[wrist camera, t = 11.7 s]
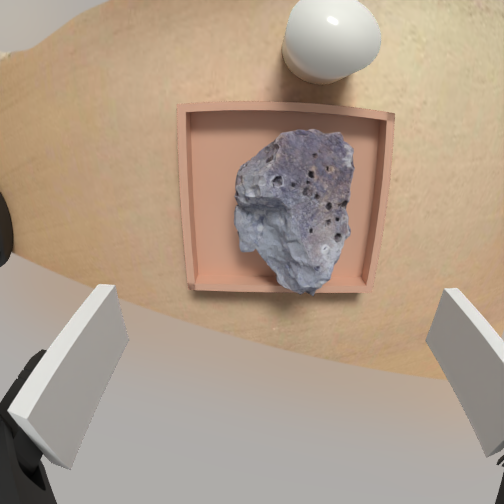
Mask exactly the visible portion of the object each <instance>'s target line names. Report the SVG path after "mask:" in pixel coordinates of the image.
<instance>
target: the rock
mask: <svg viewBox="0 0 504 504" xmlns="http://www.w3.org/2000/svg"><path fill="white" fill-rule="evenodd" d="M353 153H354V149H353V148H352V147H351V146H350V145H349V144H348V143H347V142H345V141H344V139H343V135H342V134H341V133H340V132H334V133H322V132H321V131H319V130H316V129H309V130H307V131H306V130H300V129H297V130H296V131H289V132H283V133H281V134H280V135H279V136H278V137H277V138H276V139H275V140H274V141H273V142H271V143H270V144H268V145H267V146H265V147H264V148H263V149H262V150H260V151H259V152H258V154H257V155H256V156H254V157H252V158H251V160H250V161H247V162H246V163H244V164H243V165H241V166H240V169H239V170H238V172H237V176H236V181H235V189H236V193H235V196H234V197H235V199H236V201H237V204H238V205H236V207H235V211H234V225H235V227H236V229H237V230H238V231H237V233H238V236H239V247H240V250H241V252H253V251H254V250H255V249H257V251H258V253H259V254H260V256H261V257H262V258H263V259H264V261H266V262H267V264H268V266H270V268H271V269H272V270H273V271H274V272H275V274H276V275H277V277H276V279H277V282H278V283H279V284H280V285H282V286H283V287H284V288H287V289H290V290H292V291H293V292H297V293H298V294H300V295H301V294H302V293H304V292H306V293H309V294H311V295H312V296H314V293H315V291H316V290H317V289H319V288H321V287H322V285H323V284H325V283H326V282H327V281H329V280H330V279H331V274H332V272H333V268H334V265H335V264H336V263H337V261H338V260H339V257H340V254H341V249H343V246H344V241H345V240H346V239H347V238H348V237H349V236H350V234H351V229H350V227H349V225H348V219H349V217H348V214H347V211H346V207H347V203H348V202H349V201H350V194H351V191H350V187H351V182H352V178H353V173H354V170H355V167H354V164H353Z"/></svg>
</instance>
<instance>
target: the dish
mask: <svg viewBox="0 0 504 504" xmlns="http://www.w3.org/2000/svg"><path fill="white" fill-rule="evenodd" d="M394 121H395V113H390V112H383V111H377V110H370V109H362V108H354V107H346V106H336V105H325V104H313V103H297V102H271V101H228V102H202V103H186V104H177V135H178V164H179V184H180V201H181V216H182V229H183V242H184V253H185V264H186V274H187V284H188V290H205V291H235V292H283V293H297V292H293V291H292V290H290V289H287V288H284V287H283V286H282V285H280V284H279V283H278V282H277V279H276V277H277V275H276V274H275V272H274V271H273V270H272V269H271V268H270V266H268V264H267V262H266V261H264V259H263V258H262V257H261V256H260V254H259V253H258V251H257V249H255V250H254V251H253V252H241V250H240V247H239V236H238V233H237V231H238V230H237V229H236V227H235V225H234V211H235V207H236V205H238V204H237V201H236V199H235V197H234V196H235V193H236V189H235V181H236V176H237V172H238V170H239V169H240V166H241V165H243V164H244V163H246V162H247V161H250V160H251V158H252V157H254V156H256V155H257V154H258V152H259V151H260V150H262V149H263V148H264V147H265V146H267V145H268V144H270V143H271V142H273V141H274V140H275V139H276V138H277V137H278V136H279V135H280V134H281V133H283V132H289V131H296V130H297V129H300V130H306V131H307V130H309V129H316V130H319V131H321V132H322V133H334V132H340V133H341V134H342V135H343V139H344V141H345V142H347V143H348V144H349V145H350V146H351V147H352V148H353V149H354V153H353V164H354V167H355V170H354V173H353V178H352V182H351V187H350V191H351V194H350V201H349V202H348V203H347V207H346V211H347V214H348V217H349V219H348V225H349V227H350V229H351V234H350V236H349V237H348V238H347V239H346V240H345V241H344V246H343V249H341V254H340V257H339V260H338V261H337V263H336V264H335V265H334V268H333V272H332V274H331V279H330V280H329V281H327V282H326V283H325V284H323V285H322V287H321V288H319V289H317V290H316V291H315V293H369V292H372V289H373V284H374V279H375V274H376V269H377V264H378V259H379V253H380V248H381V242H382V236H383V230H384V223H385V216H386V209H387V201H388V193H389V185H390V175H391V165H392V153H393V139H394ZM304 293H306V292H304Z"/></svg>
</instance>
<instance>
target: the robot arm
mask: <svg viewBox="0 0 504 504" xmlns="http://www.w3.org/2000/svg"><path fill="white" fill-rule="evenodd" d="M12 244H13V233H12V225H11V219H10V215H9V212H8V209H7V206H6V203H5V201H4V198H3V196H2V194H1V193H0V267H1V266H2V265H4V264H5V263H6V262H7V261H8V259H9V257H10V254H11V251H12ZM128 341H129V338H128V335H127V331H126V327H125V324H124V320H123V316H122V312H121V308H120V304H119V300H118V295H117V291H116V286H115V285H106V284H98V285H97V287H96V288H95V289H94V290H93V292H92V293H91V294H90V296H89V297H88V298H87V299H86V300H85V301H84V303H83V304H82V305H81V307H80V308H79V309H78V310H77V312H76V313H75V314H74V315H73V317H72V318H71V319H70V321H69V322H68V323H67V325H66V326H65V327H64V329H63V330H62V331H61V332H60V334H59V335H58V336H57V338H56V339H55V341H54V342H53V343H52V345H51V346H50V347H49V349H48V350H41V351H39V352H38V353H37V354H35V355H34V356H33V357H32V358H31V359H30V360H29V362H28V363H27V364H26V366H25V367H24V370H22V371H21V373H20V374H19V376H18V379H16V380H15V381H14V383H13V384H12V386H11V387H10V389H9V391H8V392H7V393H6V395H5V396H4V398H3V399H2V401H1V403H0V504H57V502H56V500H55V497H54V494H53V492H52V489H51V486H50V484H49V481H48V478H47V474H46V471H45V468H44V466H43V464H42V462H41V460H40V459H41V457H42V455H43V454H44V455H45V457H46V458H47V459H48V460H49V461H50V462H51V463H53V464H56V465H58V466H61V467H63V468H66V469H69V470H71V467H72V465H73V462H74V460H75V457H76V455H77V453H78V450H79V448H80V445H81V443H82V440H83V438H84V436H85V433H86V431H87V429H88V426H89V424H90V422H91V419H92V417H93V415H94V413H95V410H96V408H97V406H98V404H99V401H100V399H101V397H102V395H103V393H104V391H105V389H106V386H107V384H108V382H109V380H110V378H111V376H112V374H113V372H114V370H115V368H116V365H117V363H118V361H119V359H120V357H121V355H122V353H123V351H124V349H125V347H126V345H127V343H128ZM425 341H426V342H427V344H428V346H429V347H430V349H431V351H432V353H433V354H434V356H435V358H436V359H437V361H438V363H439V365H440V366H441V368H442V370H443V372H444V373H445V375H446V377H447V379H448V381H449V382H450V384H451V386H452V388H453V390H454V392H455V393H456V395H457V397H458V399H459V401H460V403H461V405H462V407H463V409H464V411H465V413H466V415H467V417H468V419H469V421H470V423H471V425H472V427H473V429H474V431H475V433H476V435H477V438H478V440H479V442H480V444H481V446H482V449H483V451H484V453H485V455H486V457H489V456H491V455H493V454H495V453H497V452H499V451H501V450H502V449H503V448H504V341H503V340H502V339H501V338H500V336H499V335H498V334H497V333H496V331H495V330H494V329H493V328H492V327H491V325H490V324H489V323H488V322H487V321H486V319H485V318H484V317H483V316H482V315H481V314H480V313H479V311H478V310H477V309H476V308H475V307H474V306H473V305H472V303H471V302H470V301H469V300H468V299H467V298H466V297H465V296H464V295H463V293H462V292H461V291H460V290H459V289H458V288H445V289H444V290H443V293H442V296H441V299H440V302H439V305H438V308H437V311H436V314H435V317H434V319H433V322H432V325H431V327H430V330H429V333H428V335H427V338H426V340H425ZM503 460H504V455H503V456H502V457H501V458H500V459H499V460H498V462H497V465H499V464H500V463H501V462H502V461H503ZM502 466H503V467H504V463H503V465H502ZM495 504H504V473H503V477H502V481H501V485H500V488H499V492H498V495H497V499H496V502H495Z"/></svg>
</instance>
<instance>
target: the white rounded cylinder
mask: <svg viewBox="0 0 504 504" xmlns="http://www.w3.org/2000/svg"><path fill="white" fill-rule="evenodd" d="M380 45H381V33H380V29H379V26H378V23H377V21H376V19H375V18H374V16H373V15H372V13H371V12H370V11H369V10H368V9H367V8H366V7H365V6H364V5H363V4H361V3H360V2H359V1H357V0H300V1H299V2H298V3H297V4H296V5H295V6H294V8H293V9H292V11H291V14H290V16H289V20H288V24H287V28H286V32H285V36H284V39H283V44H282V55H283V59H284V61H285V63H286V65H287V67H288V68H289V70H290V71H291V72H292V73H293V74H294V75H296V76H297V77H298V78H300V79H302V80H304V81H306V82H309V83H312V84H320V85H324V84H330V83H334V82H336V81H338V80H340V79H342V78H344V77H346V76H348V75H350V74H353V73H355V72H357V71H359V70H361V69H363V68H365V67H366V66H368V65H369V64H370V63H371V62H372V61H373V60H374V59H375V58H376V56H377V54H378V52H379V50H380Z"/></svg>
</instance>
